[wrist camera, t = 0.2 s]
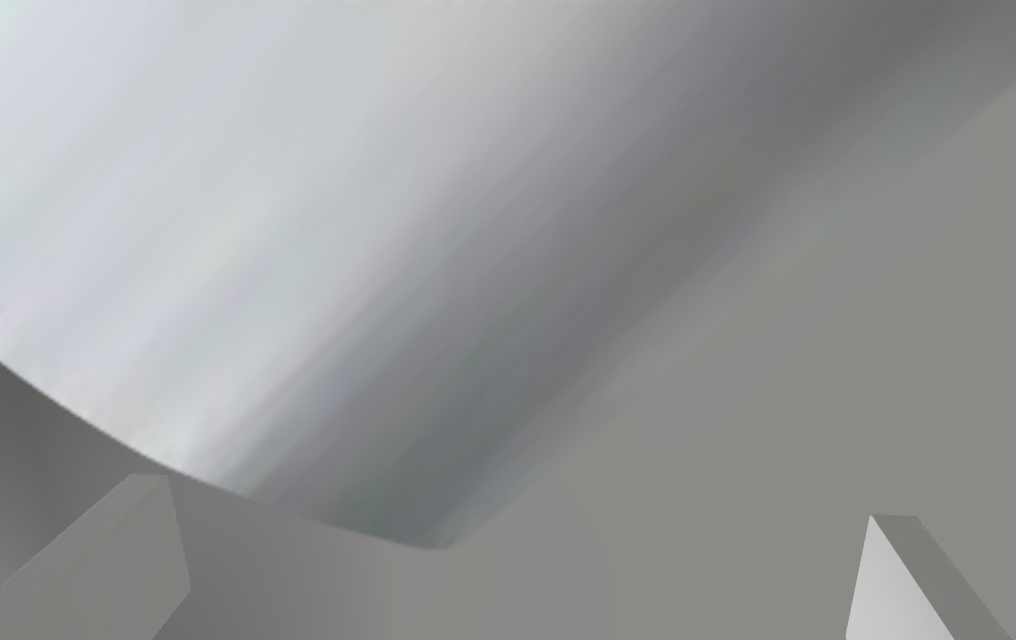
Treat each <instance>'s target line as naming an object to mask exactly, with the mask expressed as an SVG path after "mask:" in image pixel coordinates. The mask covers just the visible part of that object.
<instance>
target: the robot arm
mask: <svg viewBox="0 0 1016 640" xmlns="http://www.w3.org/2000/svg"><path fill="white" fill-rule="evenodd" d="M190 590H191V584H190V579H189V575H188V570H187V565H186V560H185V556H184V551H183V546H182V542H181V537H180V532H179V528H178V523H177V519H176V514H175V509H174V504H173V500H172V495H171V490H170V485H169V481H168V477H167V476H165V475H164V476H163V475H146V474H130V475H129V476H128V477H127V478H126V479H124V480H123V481H122V482H121V483H120V484H118V485H117V486H116V487H115V488H114V489H113V490H111V491H110V492H109V493H108V494H107V495H105V496H104V497H103V498H102V499H101V500H100V501H99V502H97V503H96V504H95V505H94V506H93V507H91V508H90V509H89V510H88V511H87V512H86V513H84V515H82V516H81V517H80V518H79V519H77V520H76V521H75V522H74V523H73V524H72V525H70V526H69V527H68V528H67V529H66V530H65V531H63V532H62V533H61V534H60V535H59V536H58V537H56V538H55V539H54V540H53V541H52V542H51V543H50V544H48V545H47V546H46V547H45V548H44V549H43V550H41V551H40V552H39V553H38V554H37V555H35V556H34V557H33V558H32V559H31V560H30V561H28V562H27V563H26V564H25V565H24V566H23V567H21V568H20V569H19V570H18V571H17V572H16V573H14V574H13V575H12V576H11V577H10V578H9V579H7V580H6V581H5V582H4V583H3V584H2V585H0V640H152V639H153V637H154V636H155V635H156V634H157V632H158V631H159V630H160V628H161V627H162V626H163V624H164V623H165V622H166V621H167V619H168V618H169V617H170V616H171V614H172V613H173V612H174V611H175V609H176V608H177V606H178V605H179V604H180V603H181V602H182V600H183V599H184V598H185V596H186V595H187V594H188V593H189V591H190ZM846 639H847V640H1012V639H1011V638H1010V637H1009V635H1008V634H1007V633H1006V631H1005V630H1004V629H1003V628H1002V626H1001V625H1000V624H999V623H998V621H997V620H996V619H995V617H994V616H993V615H992V613H991V612H990V611H989V609H988V608H987V607H986V605H985V604H984V603H983V602H982V600H981V599H980V598H979V596H978V595H977V594H976V592H975V591H974V590H973V589H972V587H971V586H970V585H969V583H968V582H967V581H966V580H965V578H964V577H963V576H962V574H961V573H960V572H959V570H958V569H957V568H956V566H955V565H954V564H953V563H952V561H951V560H950V559H949V557H948V556H947V555H946V554H945V552H944V551H943V550H942V548H941V547H940V546H939V544H938V543H937V542H936V540H935V539H934V538H933V537H932V535H931V534H930V533H929V531H928V530H927V529H926V528H925V526H924V525H923V524H922V522H921V521H920V520H919V518H918V517H916V516H901V515H883V514H870V519H869V524H868V529H867V534H866V539H865V544H864V549H863V554H862V559H861V563H860V568H859V573H858V578H857V583H856V588H855V593H854V598H853V603H852V607H851V612H850V618H849V622H848V627H847V632H846Z"/></svg>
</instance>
